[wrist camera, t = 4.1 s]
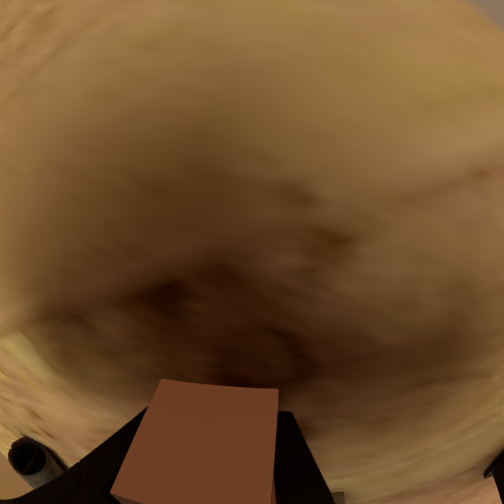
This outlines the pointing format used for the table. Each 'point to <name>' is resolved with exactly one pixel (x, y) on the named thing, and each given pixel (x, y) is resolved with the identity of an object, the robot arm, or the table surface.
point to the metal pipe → (33, 462)
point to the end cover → (202, 447)
